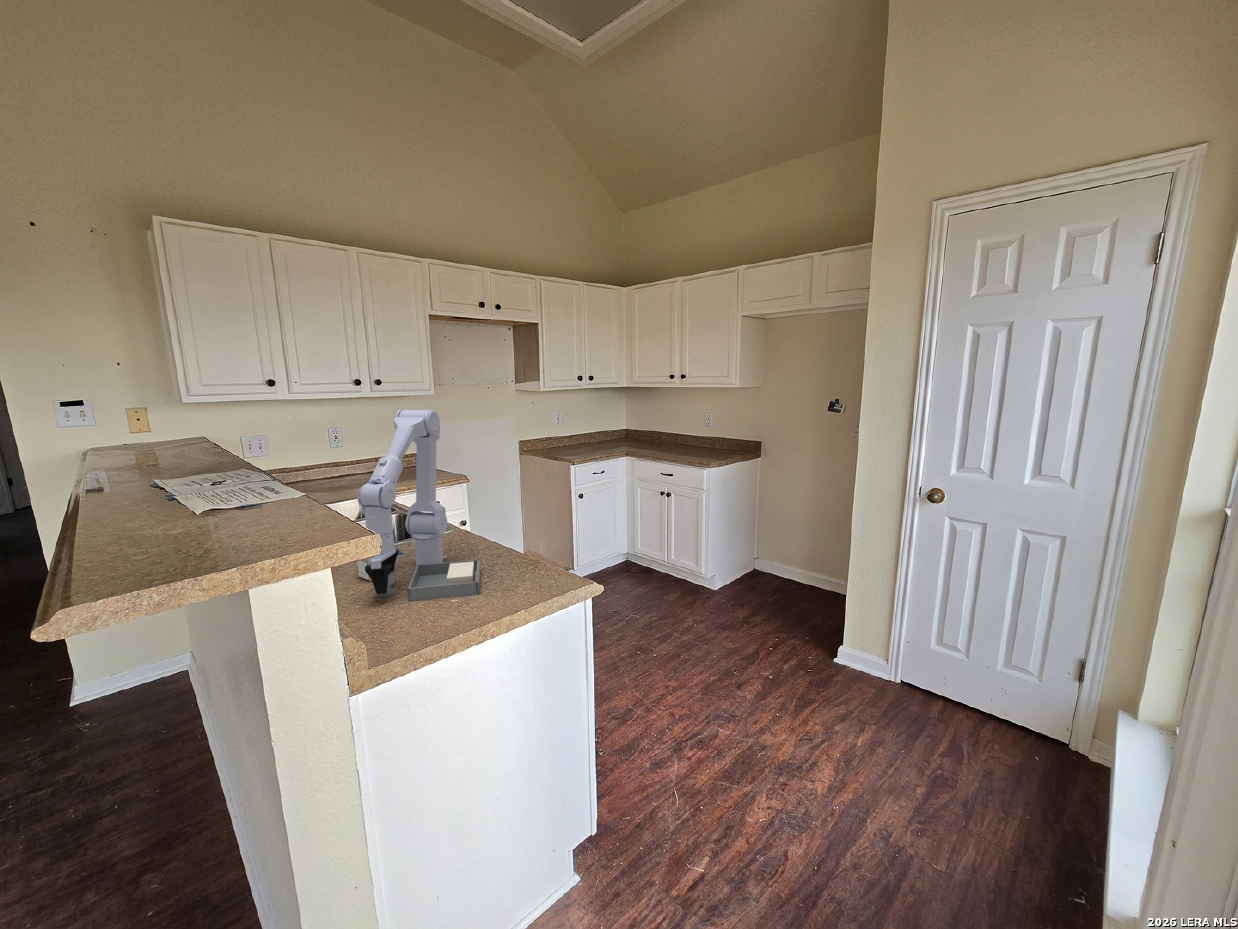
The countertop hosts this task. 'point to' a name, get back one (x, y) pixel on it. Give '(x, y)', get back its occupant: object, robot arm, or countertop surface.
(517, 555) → the countertop surface
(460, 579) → the block
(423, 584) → the tote
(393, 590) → the metal can
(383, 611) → the countertop surface
